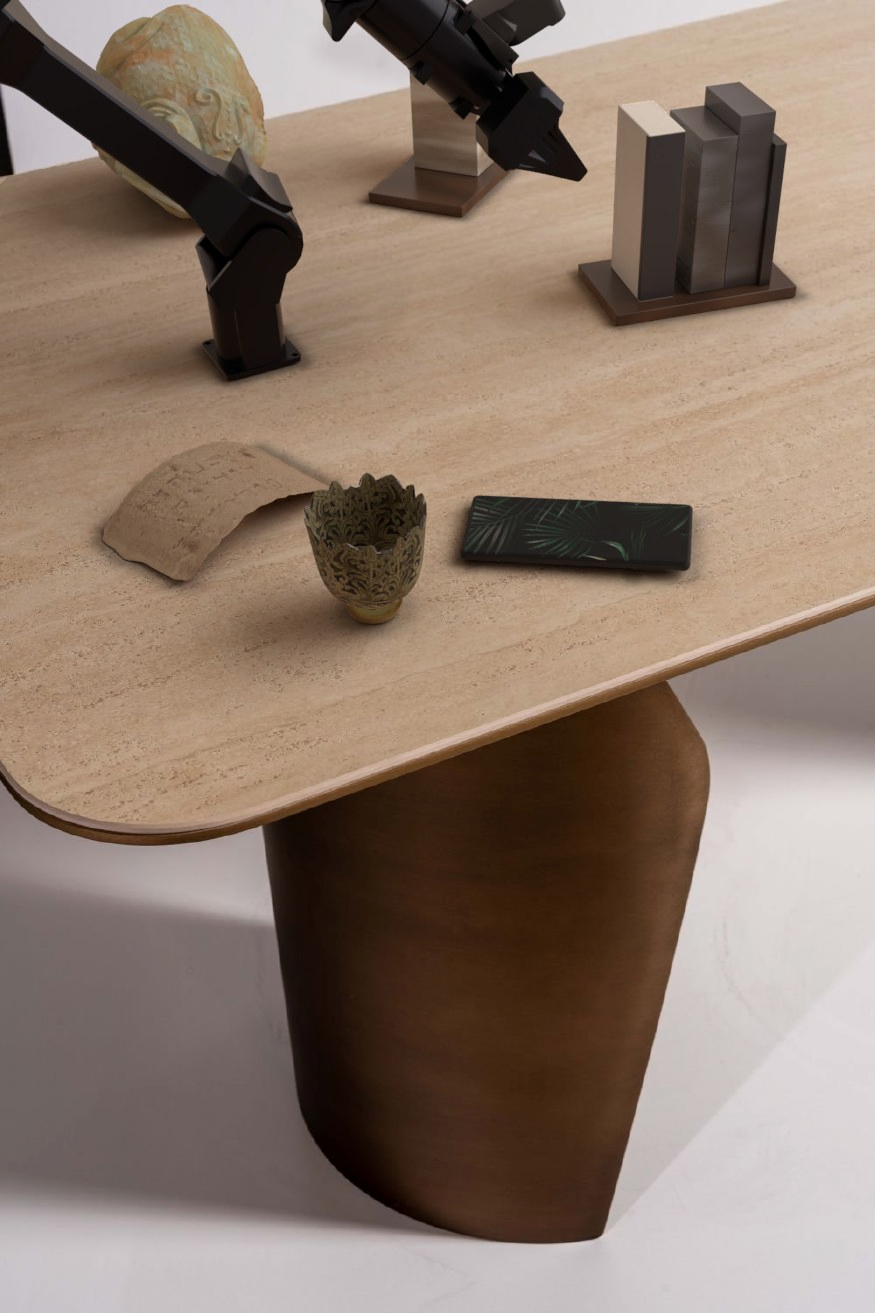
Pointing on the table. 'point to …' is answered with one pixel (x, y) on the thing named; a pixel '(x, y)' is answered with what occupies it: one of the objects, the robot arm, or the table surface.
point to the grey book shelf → (716, 214)
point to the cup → (368, 543)
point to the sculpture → (186, 87)
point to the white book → (647, 199)
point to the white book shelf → (434, 189)
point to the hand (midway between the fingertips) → (564, 153)
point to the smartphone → (579, 533)
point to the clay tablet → (198, 504)
